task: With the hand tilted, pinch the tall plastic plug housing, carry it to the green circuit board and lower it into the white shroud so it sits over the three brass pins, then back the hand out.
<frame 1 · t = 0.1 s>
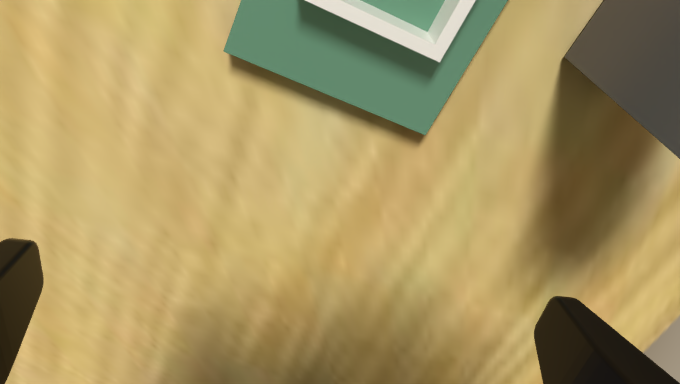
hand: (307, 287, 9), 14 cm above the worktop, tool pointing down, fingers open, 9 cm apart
plug housing: (637, 19, 21), on the worktop
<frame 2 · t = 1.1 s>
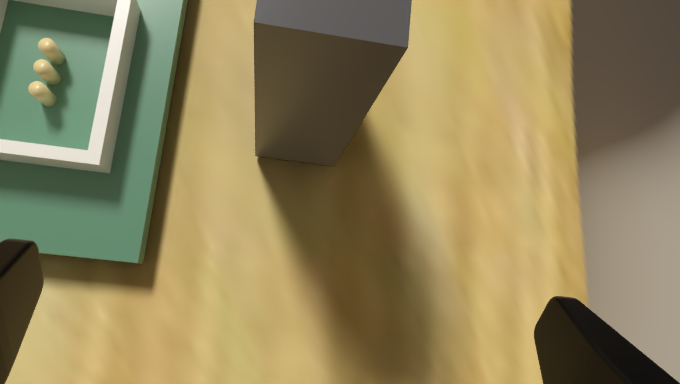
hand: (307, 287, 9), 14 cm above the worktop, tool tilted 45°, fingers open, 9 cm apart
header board: (61, 87, 23), on the worktop
plug housing: (301, 107, 24), on the worktop
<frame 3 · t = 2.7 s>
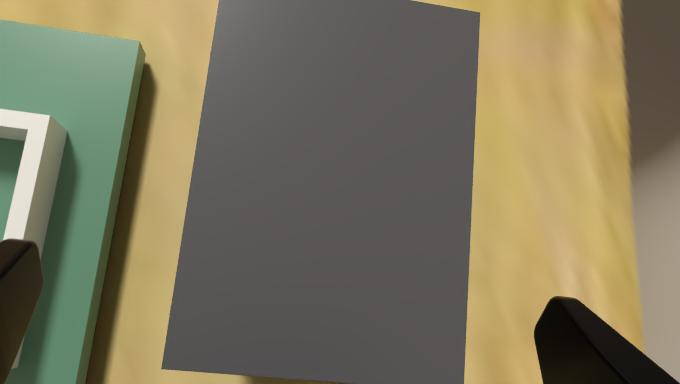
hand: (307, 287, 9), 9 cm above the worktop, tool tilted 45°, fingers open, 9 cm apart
plug housing: (285, 251, 18), on the worktop
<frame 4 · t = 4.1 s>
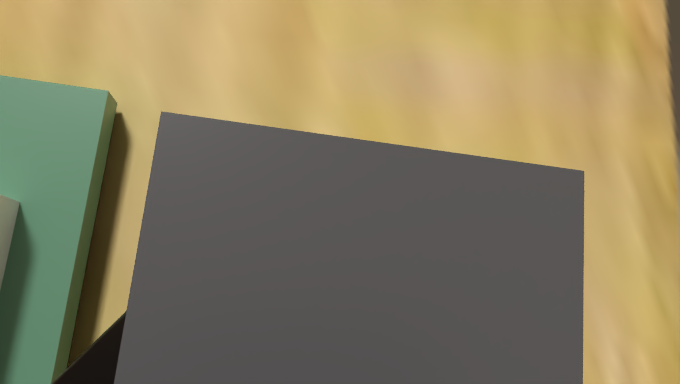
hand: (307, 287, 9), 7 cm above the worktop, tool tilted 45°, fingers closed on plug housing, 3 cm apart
plug housing: (281, 337, 15), on the worktop, touching gripper
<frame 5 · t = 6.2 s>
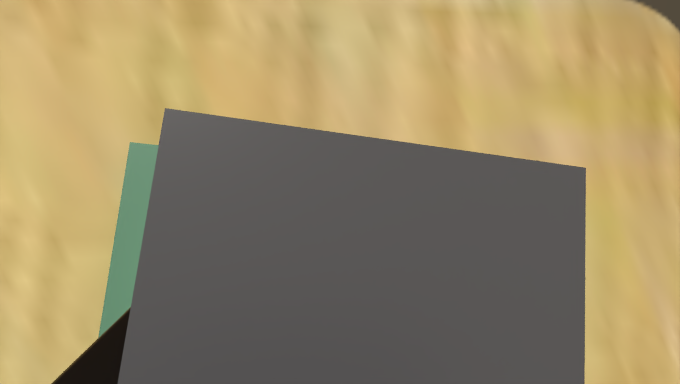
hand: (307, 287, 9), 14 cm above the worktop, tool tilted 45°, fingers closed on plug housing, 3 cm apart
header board: (222, 324, 22), on the worktop
plug housing: (281, 336, 15), point 7 cm above the worktop, touching gripper
when the fingers open (9 cm above the worktop, at t = 8.2 s): plug housing stays where it is, resting on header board.
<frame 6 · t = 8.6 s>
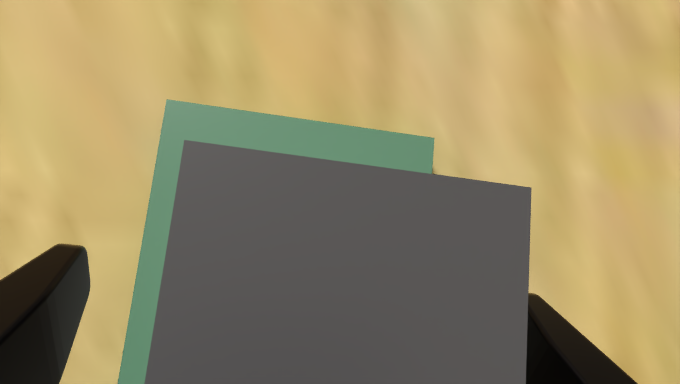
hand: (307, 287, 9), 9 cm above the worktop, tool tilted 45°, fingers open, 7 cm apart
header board: (278, 332, 17), on the worktop
plug housing: (277, 332, 16), point 1 cm above the worktop, touching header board
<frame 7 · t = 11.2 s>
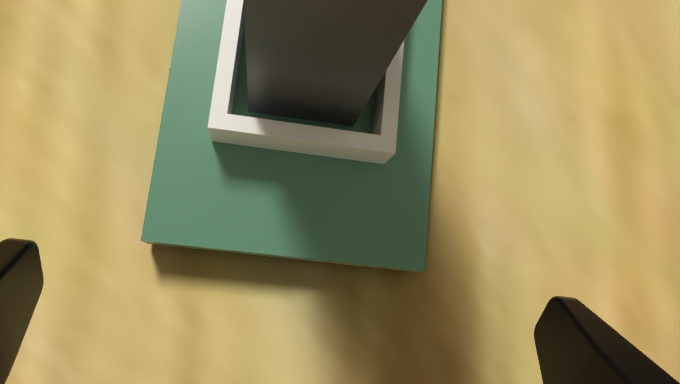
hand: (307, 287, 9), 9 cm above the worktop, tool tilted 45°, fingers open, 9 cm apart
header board: (308, 63, 19), on the worktop
plug housing: (309, 49, 18), point 1 cm above the worktop, touching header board
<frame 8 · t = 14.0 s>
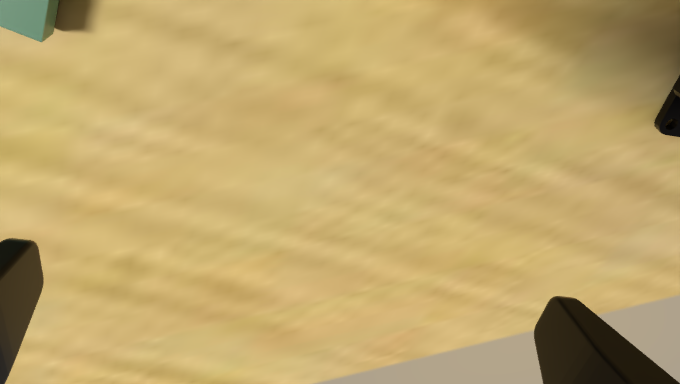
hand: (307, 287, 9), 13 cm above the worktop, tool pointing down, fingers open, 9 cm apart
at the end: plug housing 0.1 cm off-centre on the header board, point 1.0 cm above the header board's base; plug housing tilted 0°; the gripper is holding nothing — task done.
